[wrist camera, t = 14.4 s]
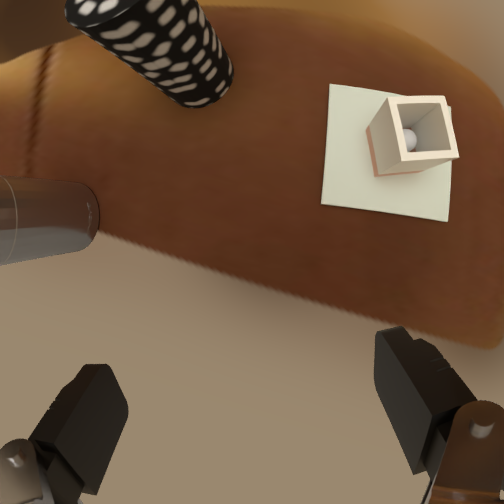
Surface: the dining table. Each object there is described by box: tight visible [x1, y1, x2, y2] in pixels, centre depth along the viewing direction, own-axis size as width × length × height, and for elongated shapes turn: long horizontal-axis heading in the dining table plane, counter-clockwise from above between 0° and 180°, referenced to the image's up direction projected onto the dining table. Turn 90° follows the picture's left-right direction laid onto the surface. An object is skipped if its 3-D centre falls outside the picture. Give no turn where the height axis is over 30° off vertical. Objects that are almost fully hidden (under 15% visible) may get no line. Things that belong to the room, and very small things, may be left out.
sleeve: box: [366, 96, 459, 177], centre depth 25 cm, size 5×5×10 cm
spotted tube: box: [65, 0, 233, 108], centre depth 24 cm, size 8×8×20 cm
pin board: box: [321, 84, 451, 222], centre depth 28 cm, size 14×13×8 cm
